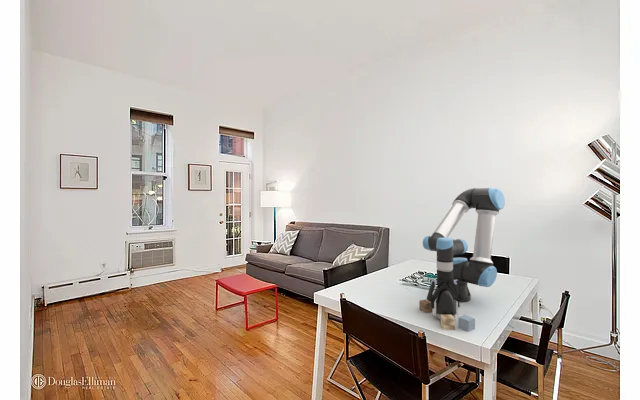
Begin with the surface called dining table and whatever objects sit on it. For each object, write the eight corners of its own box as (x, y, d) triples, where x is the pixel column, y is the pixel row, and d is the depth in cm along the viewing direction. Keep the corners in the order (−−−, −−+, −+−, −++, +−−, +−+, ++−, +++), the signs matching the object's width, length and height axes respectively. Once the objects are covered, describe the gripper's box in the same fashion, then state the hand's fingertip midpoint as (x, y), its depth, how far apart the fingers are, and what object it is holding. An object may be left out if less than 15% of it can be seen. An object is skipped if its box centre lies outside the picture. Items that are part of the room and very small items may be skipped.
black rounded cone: (450, 314, 161) (450, 284, 160) (460, 322, 151) (460, 291, 150) (430, 314, 161) (430, 285, 160) (439, 323, 150) (439, 292, 150)
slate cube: (464, 325, 148) (464, 314, 148) (474, 329, 144) (474, 318, 144) (458, 327, 146) (458, 317, 146) (468, 331, 142) (468, 320, 141)
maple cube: (451, 325, 149) (451, 314, 149) (455, 329, 144) (454, 319, 144) (440, 324, 149) (440, 314, 149) (443, 329, 144) (443, 318, 144)
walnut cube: (427, 308, 170) (427, 299, 169) (433, 311, 165) (433, 302, 165) (419, 309, 168) (419, 300, 168) (425, 313, 163) (425, 303, 163)
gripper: (463, 266, 159) (463, 310, 160) (419, 268, 158) (419, 312, 159) (471, 270, 152) (471, 316, 153) (425, 272, 150) (425, 318, 151)
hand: (445, 314), depth 156 cm, fingers closed on black rounded cone, 10 cm apart
